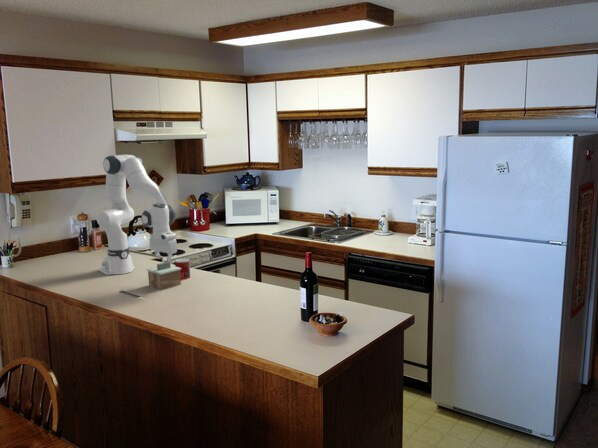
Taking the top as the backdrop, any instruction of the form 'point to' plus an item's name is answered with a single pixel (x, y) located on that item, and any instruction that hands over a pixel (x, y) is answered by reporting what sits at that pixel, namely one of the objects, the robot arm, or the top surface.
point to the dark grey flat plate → (129, 294)
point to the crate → (164, 279)
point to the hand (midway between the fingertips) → (163, 259)
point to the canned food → (183, 267)
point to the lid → (163, 268)
